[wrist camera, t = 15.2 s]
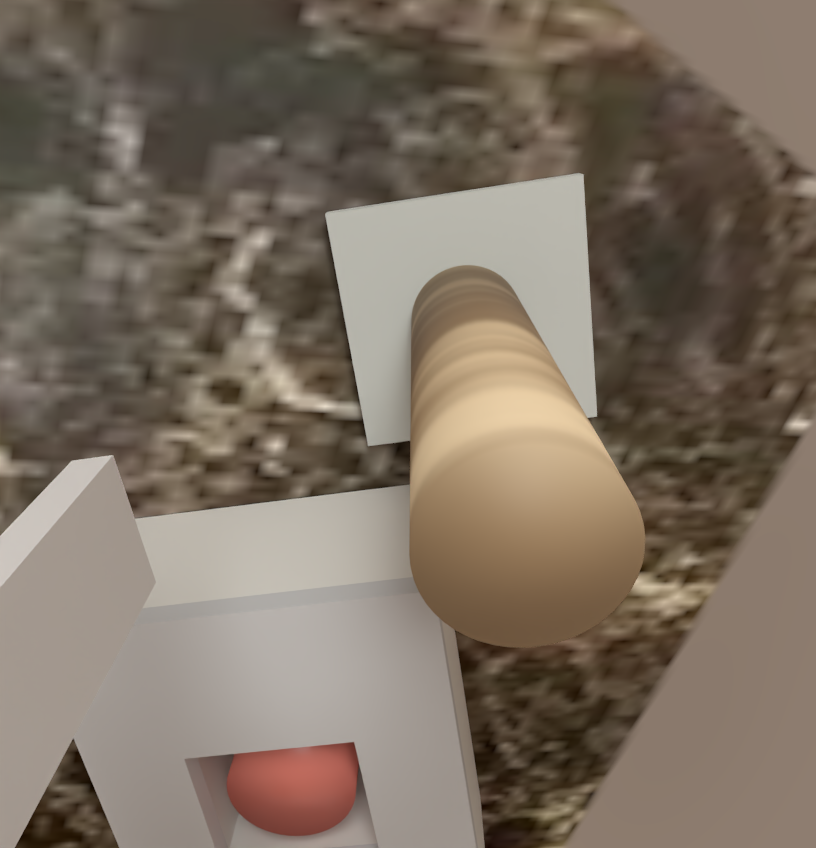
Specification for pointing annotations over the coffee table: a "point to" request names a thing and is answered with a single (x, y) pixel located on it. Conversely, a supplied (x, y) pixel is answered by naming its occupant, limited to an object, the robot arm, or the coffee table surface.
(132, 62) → the coffee table surface
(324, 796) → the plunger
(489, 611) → the tan wooden rod
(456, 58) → the coffee table surface
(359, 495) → the box
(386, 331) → the pad
